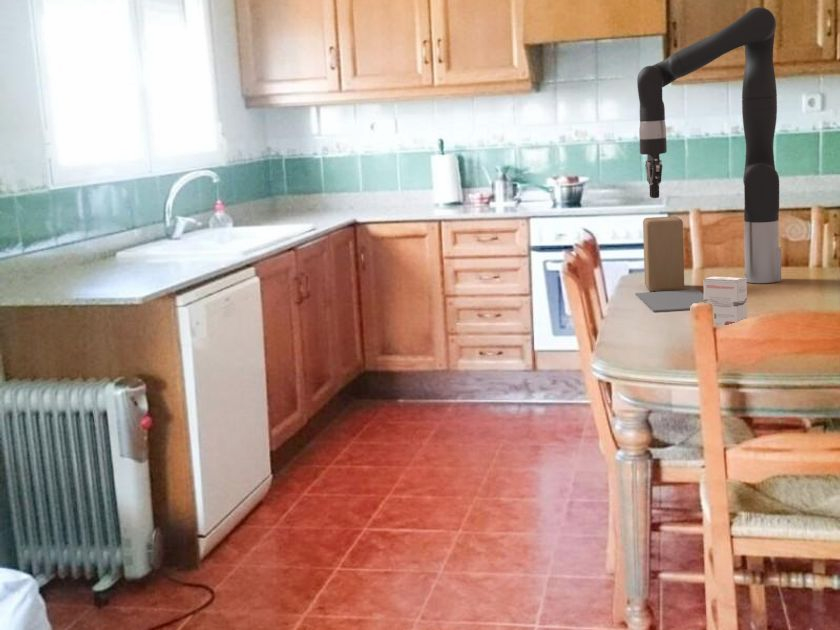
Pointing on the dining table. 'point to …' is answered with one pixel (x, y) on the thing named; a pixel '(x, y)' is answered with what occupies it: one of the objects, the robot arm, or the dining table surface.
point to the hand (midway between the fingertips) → (654, 197)
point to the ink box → (726, 298)
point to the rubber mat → (671, 299)
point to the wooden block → (663, 253)
